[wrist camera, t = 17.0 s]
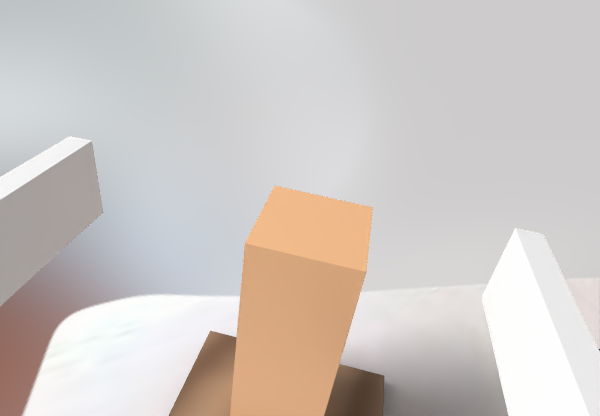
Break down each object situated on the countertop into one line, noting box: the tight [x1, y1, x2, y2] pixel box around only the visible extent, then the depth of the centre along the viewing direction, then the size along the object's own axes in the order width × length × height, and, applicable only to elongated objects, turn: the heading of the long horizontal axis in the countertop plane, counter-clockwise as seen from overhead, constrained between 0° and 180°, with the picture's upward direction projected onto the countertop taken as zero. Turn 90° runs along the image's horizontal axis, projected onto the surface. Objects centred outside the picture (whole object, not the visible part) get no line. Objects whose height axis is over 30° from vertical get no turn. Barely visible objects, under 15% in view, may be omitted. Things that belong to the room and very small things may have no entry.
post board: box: [169, 331, 384, 416], centre depth 32 cm, size 16×11×8 cm
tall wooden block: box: [230, 186, 373, 416], centre depth 29 cm, size 6×6×18 cm
